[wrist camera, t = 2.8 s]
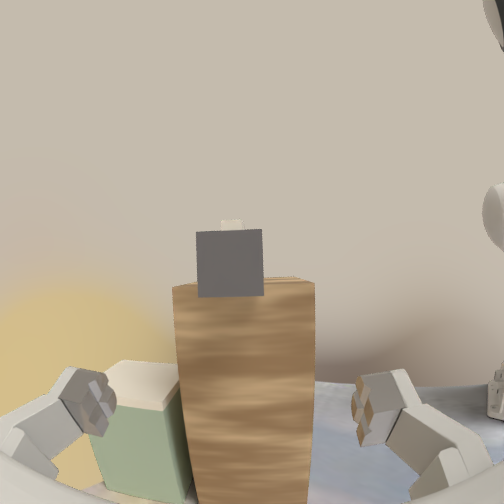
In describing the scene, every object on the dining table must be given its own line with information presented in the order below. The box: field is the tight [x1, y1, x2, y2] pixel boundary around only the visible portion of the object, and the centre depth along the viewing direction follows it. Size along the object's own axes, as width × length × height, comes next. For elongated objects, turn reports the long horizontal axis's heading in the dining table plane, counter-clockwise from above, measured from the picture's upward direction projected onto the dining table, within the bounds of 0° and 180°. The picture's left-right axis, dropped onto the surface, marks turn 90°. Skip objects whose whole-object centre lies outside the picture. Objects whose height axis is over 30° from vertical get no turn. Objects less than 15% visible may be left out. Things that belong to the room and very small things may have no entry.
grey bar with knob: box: [196, 220, 264, 298], centre depth 27 cm, size 22×4×4 cm, turn 178°
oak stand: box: [172, 277, 315, 504], centre depth 32 cm, size 16×12×26 cm
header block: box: [88, 360, 193, 504], centre depth 30 cm, size 12×10×15 cm
